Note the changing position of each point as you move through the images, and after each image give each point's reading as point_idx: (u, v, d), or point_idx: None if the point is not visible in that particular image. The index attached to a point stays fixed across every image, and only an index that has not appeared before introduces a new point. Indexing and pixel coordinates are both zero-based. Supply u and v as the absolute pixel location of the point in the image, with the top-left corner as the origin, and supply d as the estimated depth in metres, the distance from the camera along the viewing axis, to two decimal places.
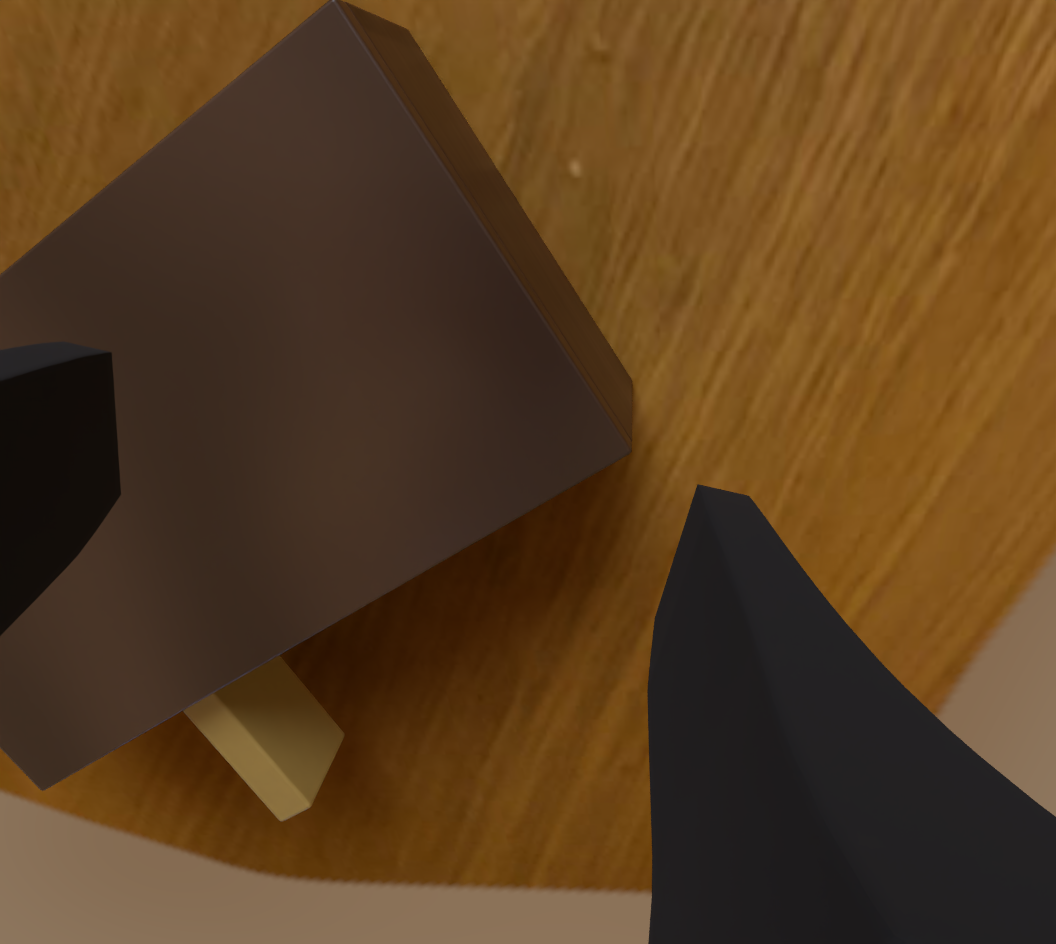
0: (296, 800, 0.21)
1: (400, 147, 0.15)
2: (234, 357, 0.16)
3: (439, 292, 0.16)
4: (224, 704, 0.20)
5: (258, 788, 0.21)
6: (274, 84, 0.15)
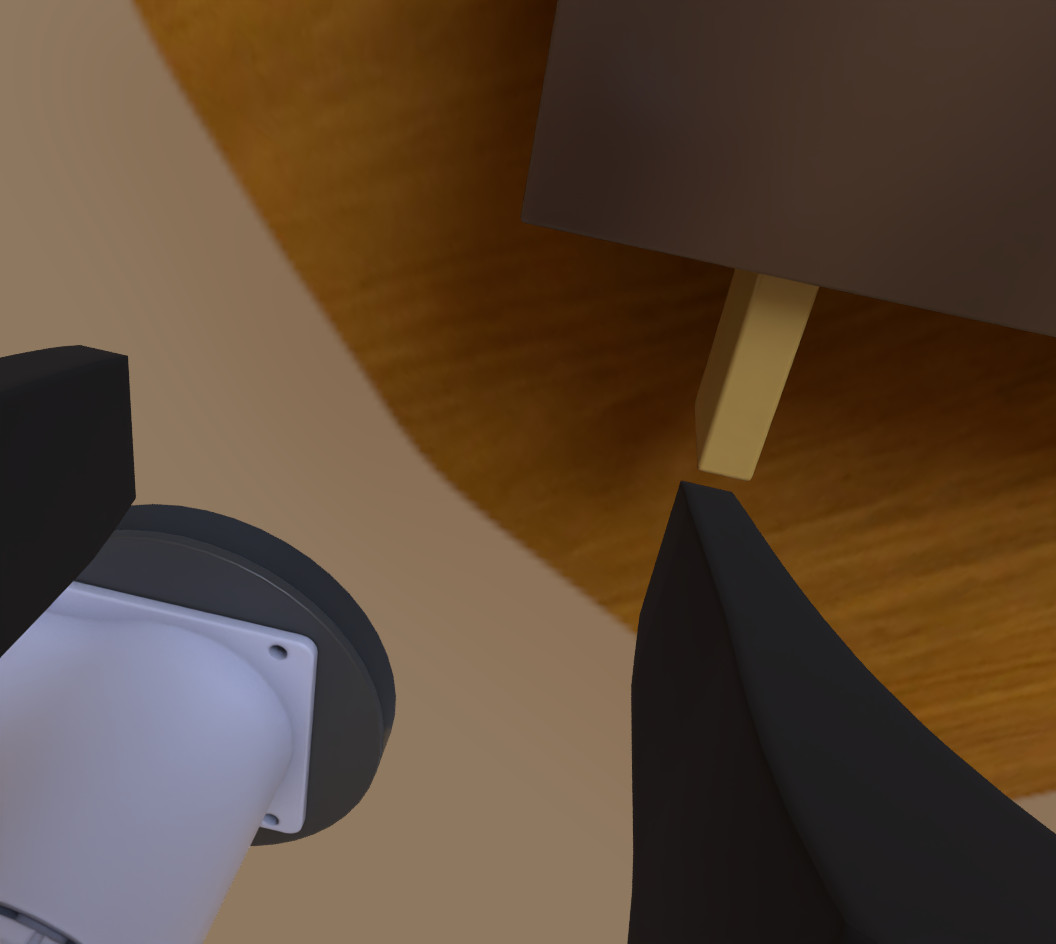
0: (745, 463, 0.16)
1: None
2: None
3: None
4: (810, 309, 0.14)
5: (724, 420, 0.15)
6: None
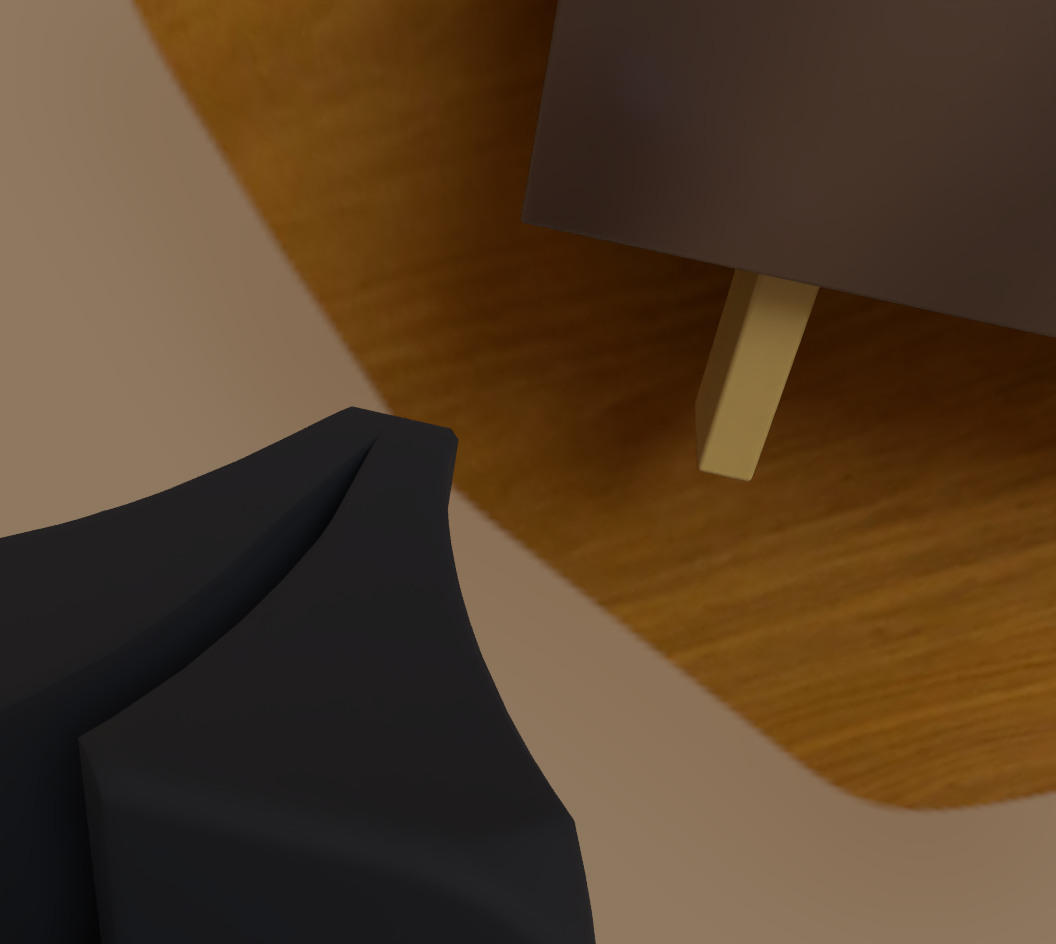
0: (745, 464, 0.16)
1: None
2: None
3: None
4: (811, 309, 0.14)
5: (725, 421, 0.15)
6: None
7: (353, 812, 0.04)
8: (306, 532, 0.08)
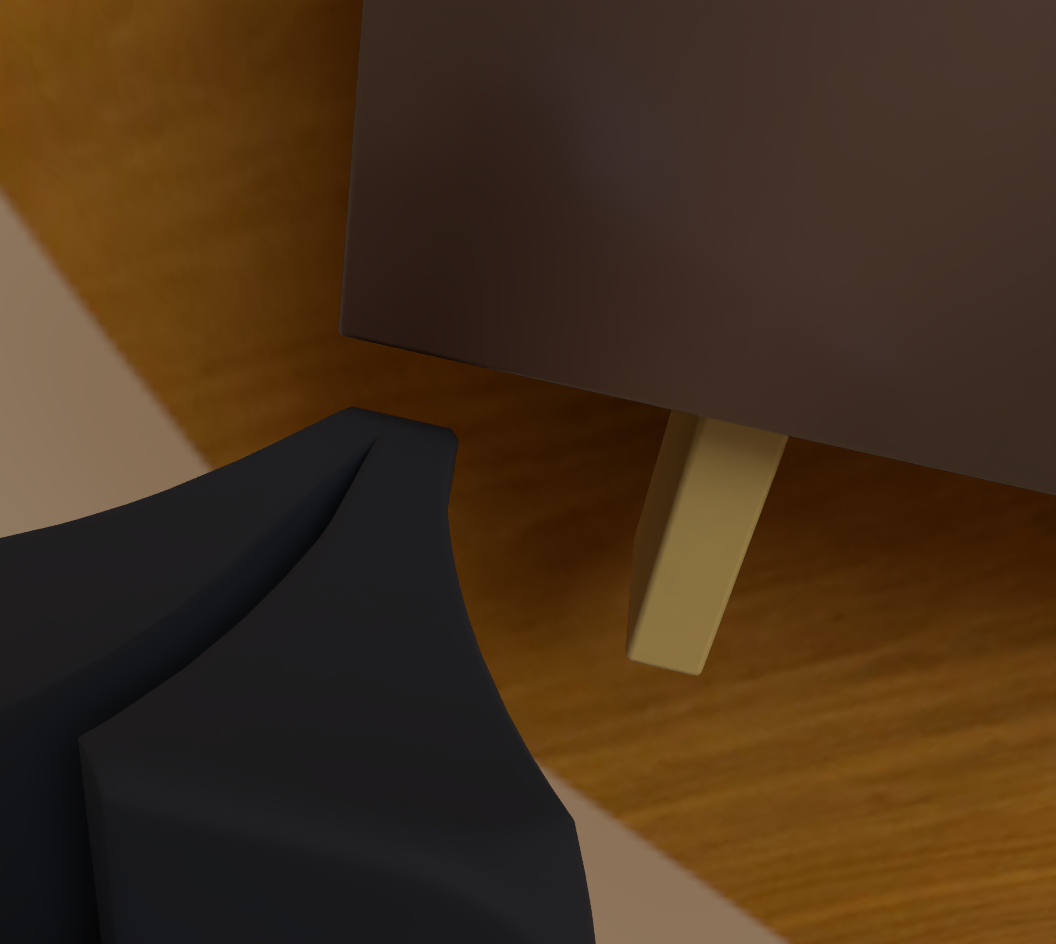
0: (692, 654, 0.11)
1: None
2: None
3: None
4: None
5: (661, 599, 0.11)
6: None
7: (355, 812, 0.04)
8: (306, 531, 0.08)
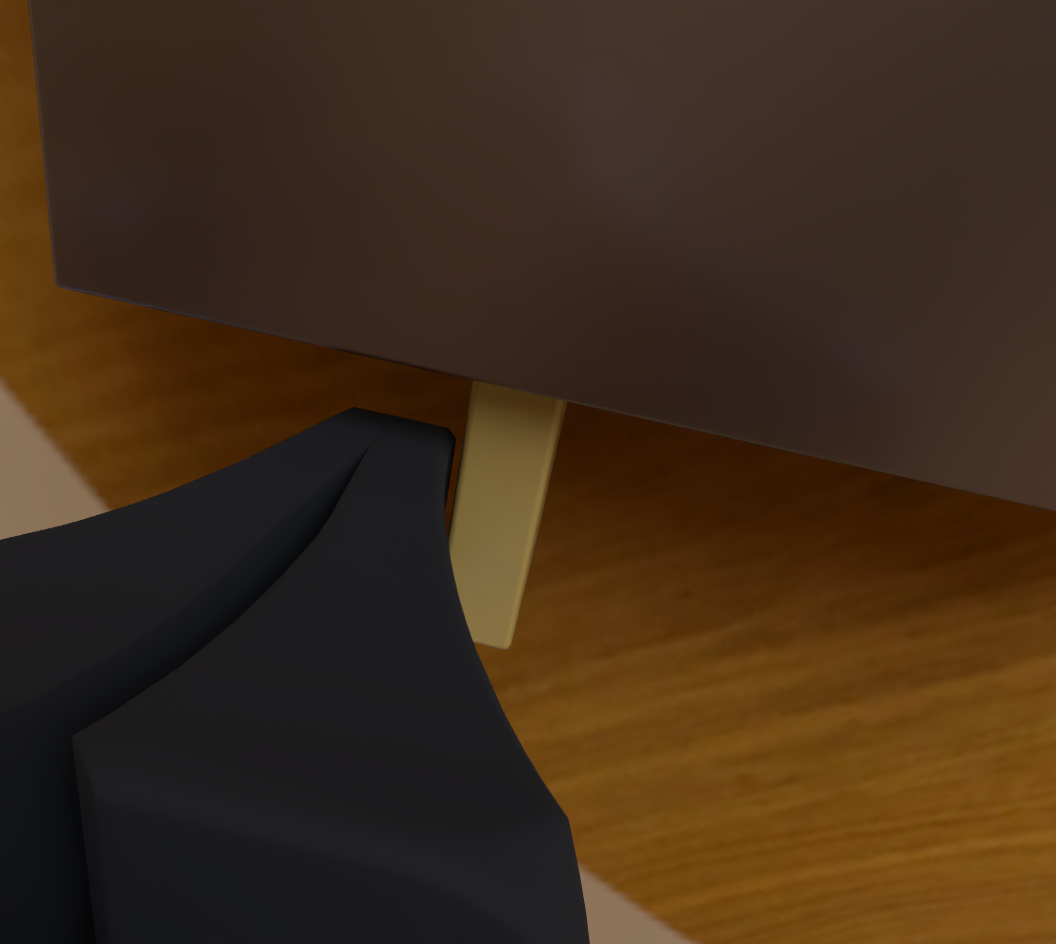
0: (497, 627, 0.11)
1: None
2: None
3: None
4: (559, 419, 0.10)
5: (459, 569, 0.11)
6: None
7: (347, 810, 0.04)
8: (308, 532, 0.08)
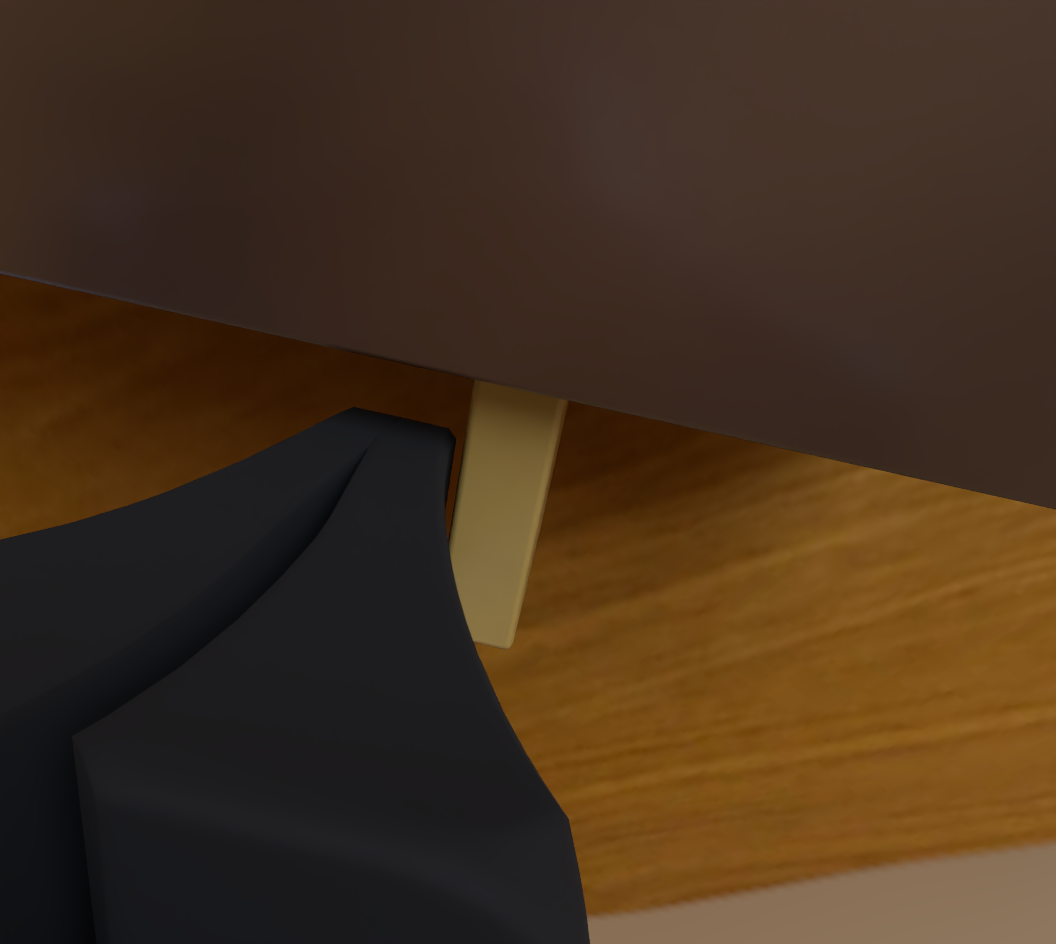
0: (499, 627, 0.11)
1: None
2: None
3: None
4: (561, 418, 0.10)
5: (461, 569, 0.11)
6: None
7: (348, 809, 0.04)
8: (310, 533, 0.08)
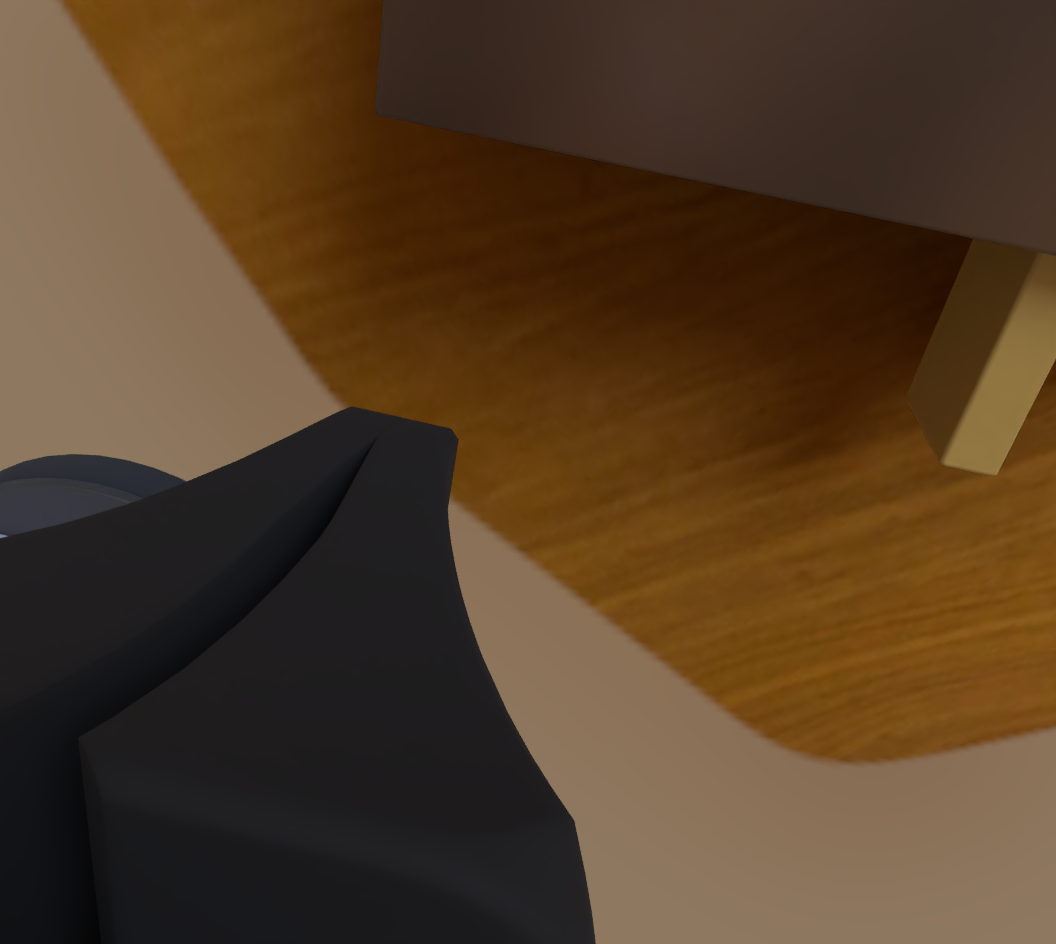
0: (993, 458, 0.15)
1: None
2: None
3: None
4: None
5: (978, 412, 0.15)
6: None
7: (353, 812, 0.04)
8: (306, 532, 0.08)
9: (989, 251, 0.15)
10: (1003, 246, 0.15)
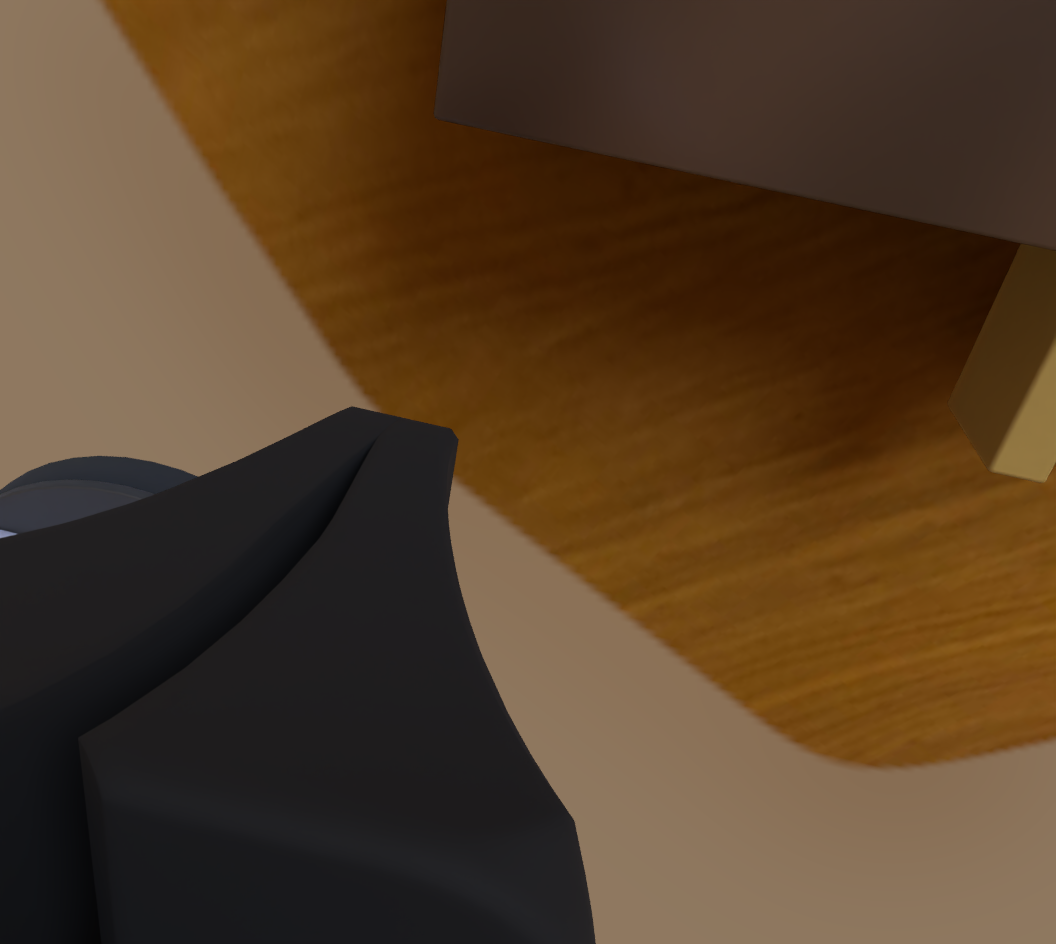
0: (1042, 465, 0.15)
1: None
2: None
3: None
4: None
5: (1028, 419, 0.15)
6: None
7: (355, 813, 0.04)
8: (307, 532, 0.08)
9: (1039, 258, 0.15)
10: (1055, 253, 0.15)
